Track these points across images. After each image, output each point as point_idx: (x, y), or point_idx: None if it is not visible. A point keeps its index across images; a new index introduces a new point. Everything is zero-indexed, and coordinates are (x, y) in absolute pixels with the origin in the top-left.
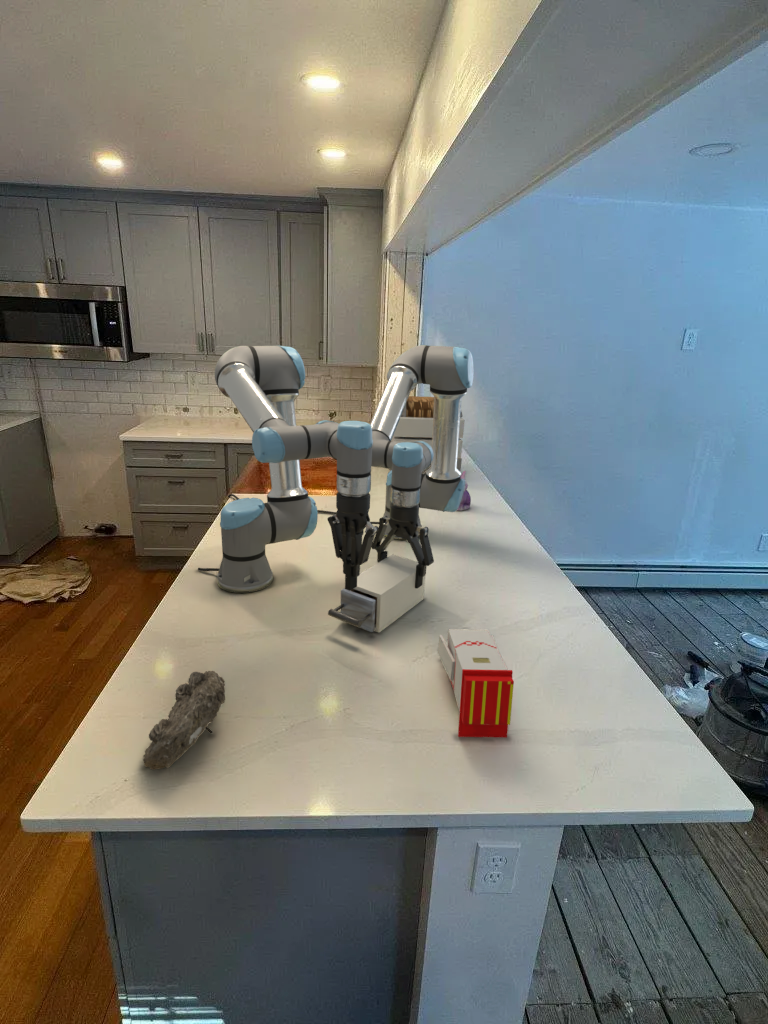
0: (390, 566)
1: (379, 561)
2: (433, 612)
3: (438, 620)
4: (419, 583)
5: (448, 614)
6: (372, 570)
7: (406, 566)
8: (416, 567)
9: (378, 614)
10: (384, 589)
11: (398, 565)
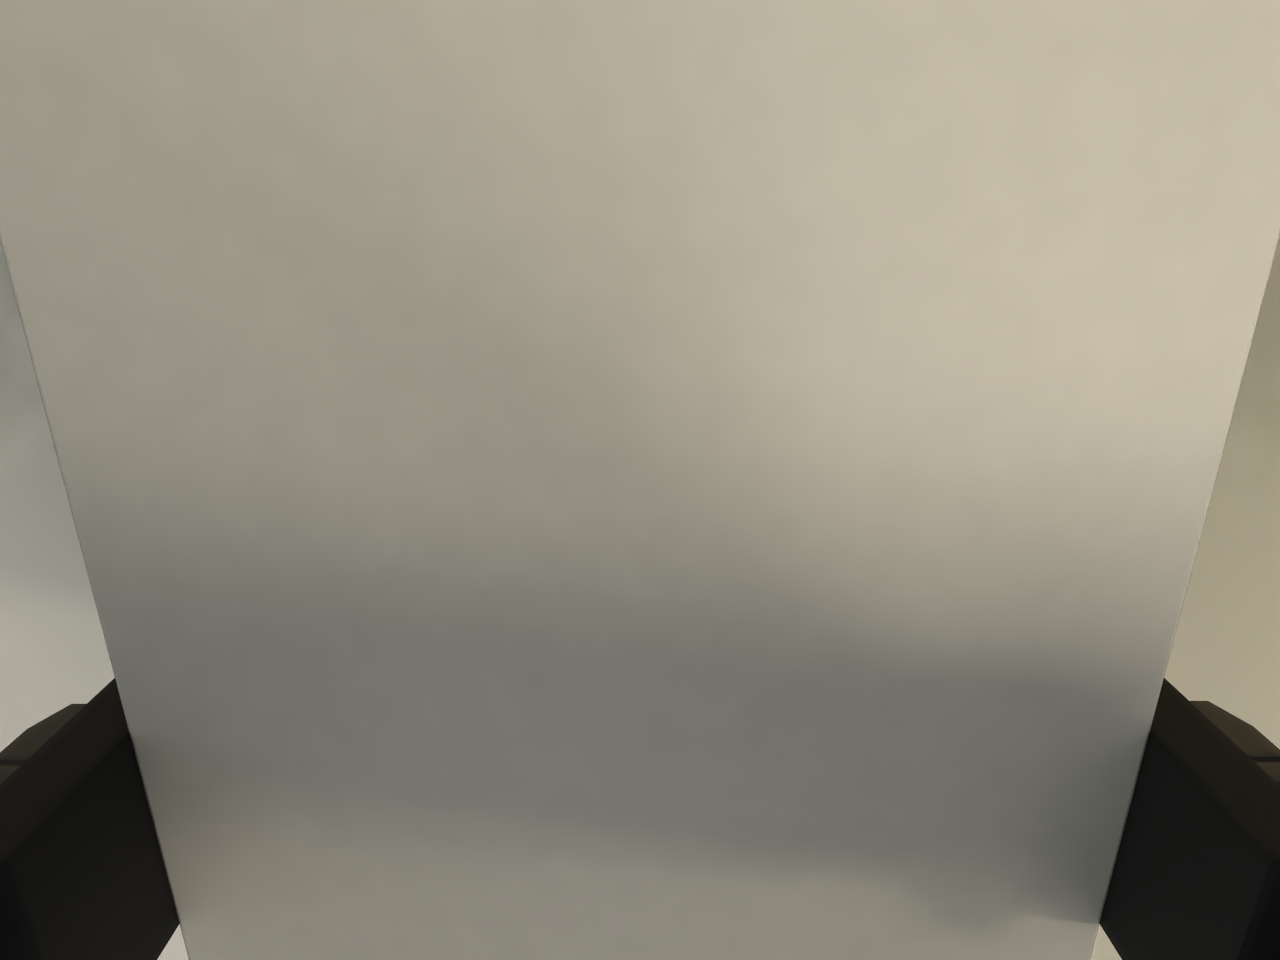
0: (786, 586)
1: (1187, 700)
2: None
3: (3, 353)
4: None
5: (26, 532)
6: (1132, 7)
7: (465, 806)
8: (38, 812)
9: None
10: None
11: (650, 744)
